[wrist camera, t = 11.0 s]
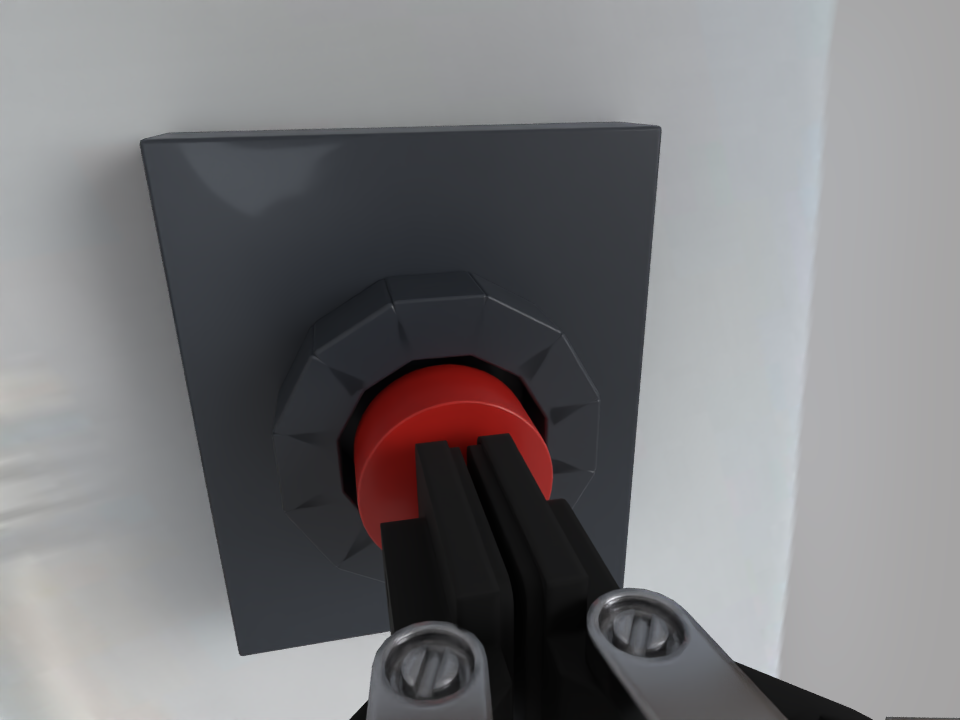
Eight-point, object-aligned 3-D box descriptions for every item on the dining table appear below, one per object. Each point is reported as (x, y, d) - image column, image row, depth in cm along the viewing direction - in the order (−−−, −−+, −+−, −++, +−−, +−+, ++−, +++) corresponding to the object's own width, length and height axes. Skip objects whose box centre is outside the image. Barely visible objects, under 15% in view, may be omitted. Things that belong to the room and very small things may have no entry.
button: (345, 372, 13) (348, 412, 11) (529, 355, 13) (556, 390, 12) (361, 530, 14) (365, 586, 12) (526, 507, 15) (551, 558, 13)
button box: (164, 132, 14) (106, 147, 10) (620, 121, 16) (709, 129, 12) (248, 596, 18) (229, 721, 15) (594, 543, 20) (653, 643, 16)
